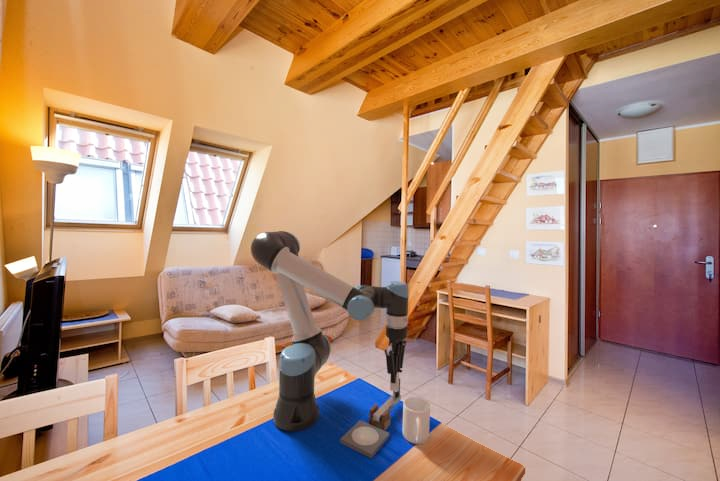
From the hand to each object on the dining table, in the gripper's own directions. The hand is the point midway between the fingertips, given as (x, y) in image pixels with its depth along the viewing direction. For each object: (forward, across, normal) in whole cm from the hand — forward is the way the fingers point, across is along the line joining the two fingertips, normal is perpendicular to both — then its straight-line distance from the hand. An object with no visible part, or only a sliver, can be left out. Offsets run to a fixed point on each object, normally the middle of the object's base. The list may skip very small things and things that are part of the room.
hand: (394, 390), depth 112 cm
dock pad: (+7, -20, 0) cm, 21 cm away
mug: (+7, -10, -13) cm, 18 cm away
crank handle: (+5, -5, 0) cm, 7 cm away
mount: (+7, -10, 0) cm, 13 cm away
